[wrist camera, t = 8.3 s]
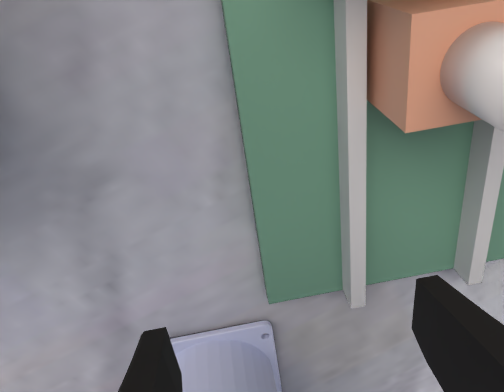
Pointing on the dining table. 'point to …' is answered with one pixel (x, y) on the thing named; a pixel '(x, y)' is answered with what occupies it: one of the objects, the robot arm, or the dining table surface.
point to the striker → (436, 62)
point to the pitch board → (351, 161)
